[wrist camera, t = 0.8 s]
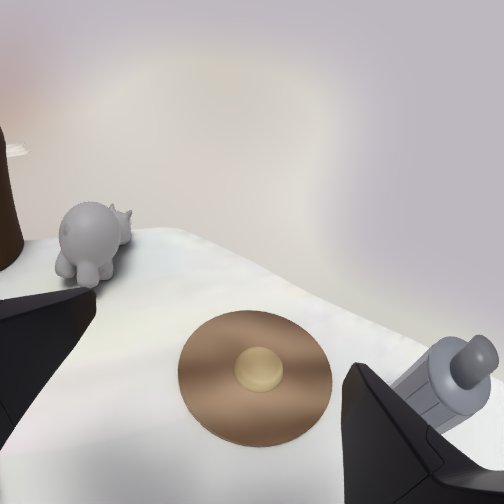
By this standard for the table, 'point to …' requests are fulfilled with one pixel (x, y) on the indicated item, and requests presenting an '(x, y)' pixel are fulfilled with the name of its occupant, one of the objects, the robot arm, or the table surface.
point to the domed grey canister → (449, 381)
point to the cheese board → (254, 378)
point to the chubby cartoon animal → (91, 242)
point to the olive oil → (7, 215)
